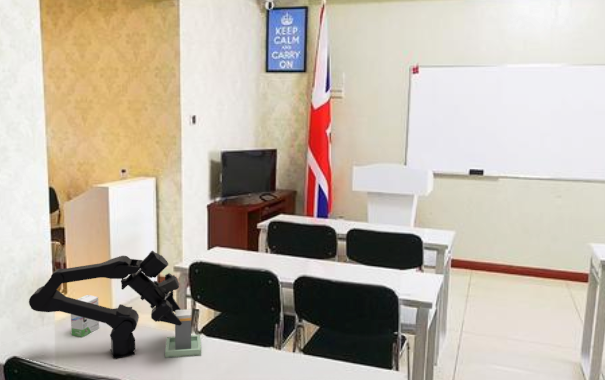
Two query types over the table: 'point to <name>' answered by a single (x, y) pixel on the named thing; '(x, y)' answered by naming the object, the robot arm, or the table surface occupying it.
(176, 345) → the grey tall block
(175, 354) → the tray
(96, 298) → the ink box
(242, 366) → the table surface
